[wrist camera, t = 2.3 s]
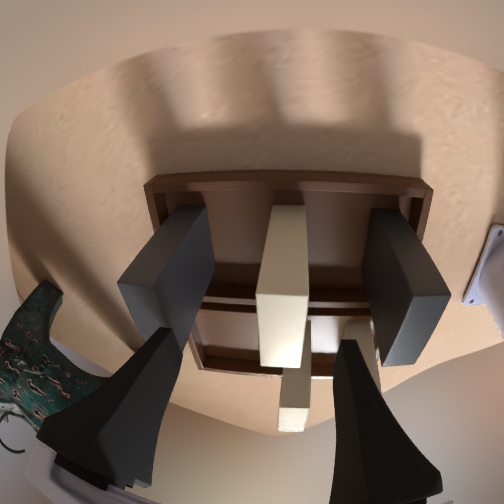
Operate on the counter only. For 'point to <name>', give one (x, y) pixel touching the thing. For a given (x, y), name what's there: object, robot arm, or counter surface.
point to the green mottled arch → (38, 364)
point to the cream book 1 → (283, 288)
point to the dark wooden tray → (317, 222)
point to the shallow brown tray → (247, 341)
